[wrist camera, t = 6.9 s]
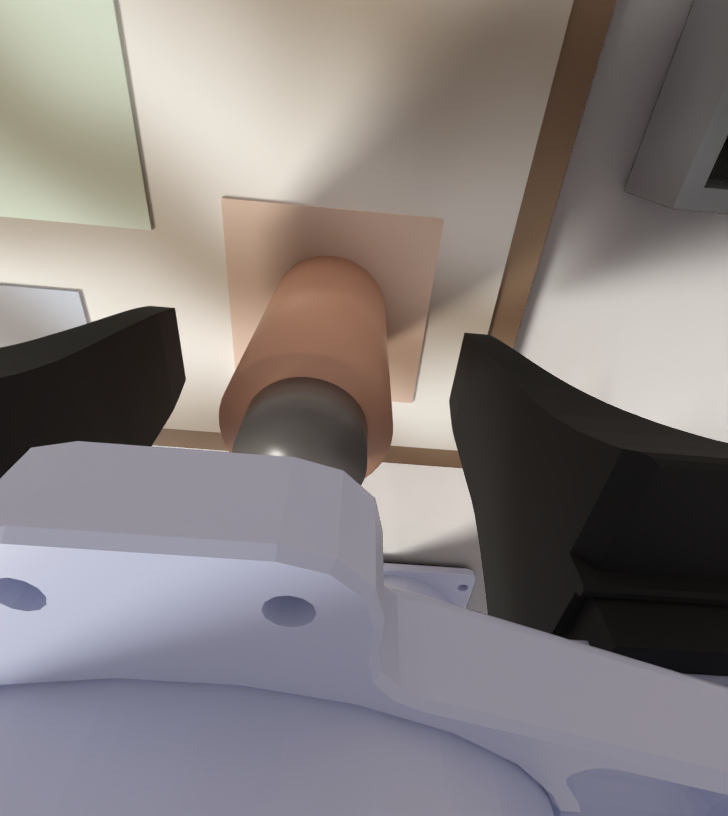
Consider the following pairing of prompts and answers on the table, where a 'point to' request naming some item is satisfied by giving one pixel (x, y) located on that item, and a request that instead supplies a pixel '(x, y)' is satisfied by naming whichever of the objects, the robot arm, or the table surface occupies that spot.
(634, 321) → the table surface
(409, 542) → the table surface
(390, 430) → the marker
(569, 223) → the table surface
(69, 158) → the beige flat tray
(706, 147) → the button housing
